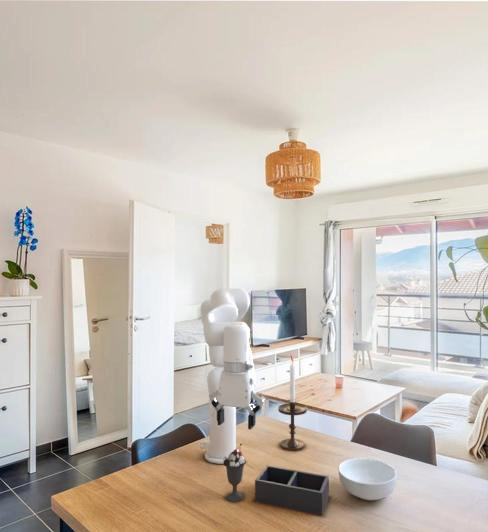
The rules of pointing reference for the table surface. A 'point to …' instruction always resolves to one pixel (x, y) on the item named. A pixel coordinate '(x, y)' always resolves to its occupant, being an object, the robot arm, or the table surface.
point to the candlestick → (292, 414)
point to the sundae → (234, 473)
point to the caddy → (292, 489)
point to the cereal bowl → (367, 478)
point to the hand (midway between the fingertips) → (235, 425)
